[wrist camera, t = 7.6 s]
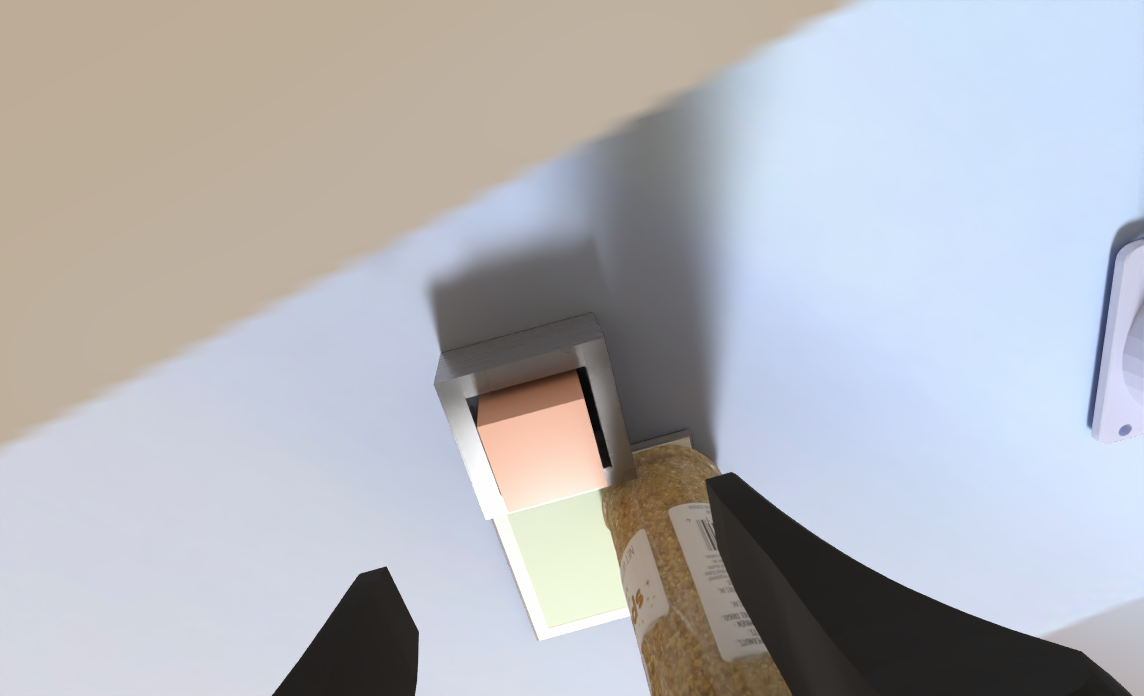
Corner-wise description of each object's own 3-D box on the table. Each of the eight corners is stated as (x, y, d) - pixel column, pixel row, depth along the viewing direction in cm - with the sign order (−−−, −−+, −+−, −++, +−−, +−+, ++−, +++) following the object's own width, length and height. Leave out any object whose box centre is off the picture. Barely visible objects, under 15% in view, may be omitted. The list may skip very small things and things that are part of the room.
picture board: (688, 428, 21) (691, 435, 20) (718, 584, 24) (721, 592, 23) (480, 485, 21) (480, 492, 20) (536, 634, 24) (537, 643, 23)
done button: (575, 367, 18) (584, 398, 16) (597, 448, 19) (607, 486, 17) (479, 393, 18) (476, 427, 16) (507, 473, 19) (507, 513, 17)
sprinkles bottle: (573, 498, 21) (673, 1073, 9) (669, 415, 20) (936, 928, 8) (656, 563, 23) (840, 1126, 10) (749, 489, 22) (1073, 1010, 9)
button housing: (593, 312, 19) (604, 337, 17) (624, 441, 21) (637, 478, 19) (440, 353, 19) (433, 384, 17) (487, 478, 21) (485, 519, 19)
